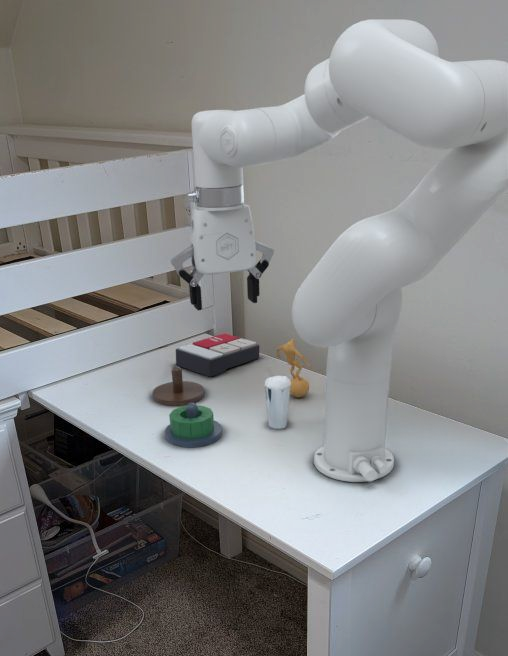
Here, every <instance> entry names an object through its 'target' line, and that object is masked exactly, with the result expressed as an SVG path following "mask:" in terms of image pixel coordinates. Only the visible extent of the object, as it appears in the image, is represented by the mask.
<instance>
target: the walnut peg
mask: <svg viewBox="0 0 508 656" xmlns="http://www.w3.org/2000/svg"><path fill="white" fill-rule="evenodd" d="M204 396H205V388H204V386H203V385H202V384H200V383H197V382H193V381H186V380H184V379H183V370H182V367H180V366H177V365H176V366H174V367H172V368H171V381H170V382H166V383H161V384H160V385H158V386H156V387H155V388H153V390H152V399H153V401H155V402H156V403H157V404H160V405H163V406H168V407H169V406H171V407H182V406H187V405H188V404H189V403H195V404H196V403H197V402H200V401H201V400H202V399H203V398H204Z"/></svg>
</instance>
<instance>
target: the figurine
mask: <svg viewBox="0 0 508 656" xmlns="http://www.w3.org/2000/svg"><path fill="white" fill-rule="evenodd" d="M295 346H296V340H295V338H291V339H290V340H289V341H287V342H286V343H285V344H282V345H281V346H278V347H277V348H276V357H277V358H278V359H281V358H282V355H281V352H280V351H281V350H282V353H283V354H284V356H285V361H286V362H287V364H288V365H290V366H291V367H290V368H289V371H290V372H289V373H290V375H291V377H292V378H291V379H290V381H291V387H290V395H291V396H293V397H295V398H303V397H305V396H306V395H307V394H308V393H309V391H310V383H309V381H308V379H306V378H305V377H304V376H300V375H299V374H300V373H301V371H302V369H303V364H302V363H301V362H300V361H299V359H297V358H296V356H297V357H299V358H300V359H301V360H302V361H303V362H304V363H305V364H306V365H307V366H308V367H309V369H312V367H311V364H310V363H309V361H307V359H306V358H305V357H304V356H303V355H302V354H301V353H300V352H299V351H298V350H297V348H296V347H295ZM295 367H296V368H298V369H297V370H296V372H295V374H294V371H295Z"/></svg>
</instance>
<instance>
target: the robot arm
mask: <svg viewBox="0 0 508 656" xmlns="http://www.w3.org/2000/svg"><path fill="white" fill-rule="evenodd" d="M439 54H440V51H439V46H438V42H437V40H436V39H435V36H434V34H433V33H432V32H431V31H430V30H429V28H427V27H426V26H425V25H424V24H421V23H420V22H418V21H415V20H410V19H401V18H399V19H396V18H395V19H385V18H384V19H380V18H379V19H378V18H377V19H366V20H361V21H358V22H357V23H354V24H352V25H350V26H349V27H348V28H346V29H345V30H344V31H343V32H342V33H341V34H340V35H339V37H338V38H337V39H336V41H335V43H334V45H333V47H332V49H331V53H330V56H329V58H327V59H325V60H323V61H321V62H319V63H318V64H316V65H314V66H313V67H312V68H311V69H310V71H309V72H308V74H307V75H306V78H305V82H304V89H303V90H304V93H303V94H302V95H300V96H298V97H296V98H294V99H291V100H290V101H288V102H286V103H283V104H280V105H277V106H265V107H255V108H250V109H249V108H248V109H241V110H232V109H214V110H213V109H211V110H210V109H209V110H202V111H201V110H200V111H198V112H196V113H194V115H193V116H192V119H191V126H190V127H191V140H192V155H193V170H194V171H193V172H194V185H195V186H194V187H193V188H194V189H193V191H191V192H186V199H187V202H189V203H190V202H192V203H194V204H195V205H196V206H195V207H193V208H192V214H191V223H190V224H191V226H190V246H188V247H187V248H184V250H181V252H180V253H178V254H176V255H175V256H174V257H172V258H171V259H170V263H171V266H172V267H173V269H174V270H175V271H176V273H177V275H178V276H179V277H180V278H181V279H182V280H184V281H185V282H186V283H187V284H188V287H189V288H188V289H189V290H188V291H189V300H190V305H191V306H193V307H194V308H195V310H197V311H202V310H203V300H202V287H201V286H200V285H199V283H200V281H201V280H202V278H203V277H204V275H205V276H209V275H210V276H211V275H219V274H221V275H222V274H228V273H237V272H244V271H247V272H248V275H247V277H246V291H247V299H248V301H250V302H251V303H253V304H257V303H258V297H259V296H260V279H261V278H262V276H263V274H264V273H265V271H266V270H267V269H268V267H269V266H270V262H271V260H272V258H273V255H274V253H275V250H274V249H273V248H272V247H269V246H268V245H265V244H263V243H261V242H259V241H256V238H255V237H256V236H255V228H254V222H253V217H252V210H251V208H250V205H249V204H247V203H245V192H244V169H243V168H249V167H256V166H260V165H265V164H272V163H277V162H283V161H287V160H291V159H293V158H295V157H298V156H301V155H303V154H305V153H308V152H309V151H311V150H314V149H317V148H319V147H320V146H322V145H324V144H326V143H328V142H330V141H331V140H333V139H334V138H335V137H337V136H338V135H339V134H341V132H342V131H344V130H346V129H348V128H351V127H352V126H356V125H357V124H359V123H361V122H363V121H365V120H367V119H372V120H373V121H375V122H377V123H379V124H380V125H382V126H383V127H386V128H387V129H388V130H391V131H392V132H394V133H396V134H398V135H399V136H401V137H403V138H405V139H406V140H408V141H410V142H412V143H414V144H416V145H418V146H421V147H423V148H426V149H430V150H431V149H432V150H450V151H449V152H448V153H447V154H446V155H445V156H443V157H442V159H440V160H439V161H438V162H437V163H436V164H434V165H433V167H432V168H430V169H429V171H428V172H427V173H426V174H425V175H424V177H423V178H422V179H421V181H419V183H418V185H416V187H415V188H414V189H413V190H412V191H411V192H410V194H408V196H407V197H406V198H405V199H404V200H403V201H402V202H401V203H399V204H398V206H396V207H395V208H393V209H391V210H388V211H386V212H382V213H380V214H376V215H372V216H369V217H365V218H364V219H361V220H358V221H357V222H355V223H353V224H352V225H351V226H349V227H348V228H347V229H346V230H344V231H343V232H342V233H341V234H340V235H339V236H338V237H337V238H336V240H335V241H334V242H332V244H331V246H330V247H329V248H328V250H327V251H326V252H325V253H324V254H323V256H322V257H321V259H320V260H318V262H317V263H316V265H315V266H314V267H313V269H312V270H311V271H310V272H309V274H308V275H307V276H306V277H305V279H304V280H303V281H302V283H301V284H300V286H299V287H298V289H297V290H296V293H295V295H294V298H293V301H292V304H291V306H292V307H291V320H292V324H293V327H294V330H295V331H296V334H297V335H298V336H299V337H300V339H302V340H303V341H304V342H305V343H307V344H309V345H310V346H312V347H317V348H328V350H327V355H326V370H325V399H324V400H325V401H324V402H325V405H324V406H325V407H324V441H323V445H322V446H321V447H319V448H318V449H316V451H315V453H314V455H313V456H314V457H313V458H314V459H313V464H314V466H315V469H317V471H319V472H320V473H321V474H323V475H324V476H327V477H329V478H331V479H334V480H337V481H342V482H350V483H362V482H368V483H369V482H370V483H371V482H373V481H374V482H375V480H378V479H382V478H383V477H385V476H387V475H388V474H389V473H391V471H392V470H394V469H393V468H394V465H395V458H394V455H393V454H392V452H391V451H390V450H389V449H387V448H386V439H387V424H388V411H389V398H390V385H391V373H392V361H393V359H392V358H393V349H394V343H395V337H396V331H397V328H398V324H399V320H400V317H401V311H402V305H403V288H404V287H407V286H410V285H412V284H414V283H417V282H418V281H420V280H422V279H423V278H425V277H427V275H429V274H430V272H432V271H433V270H434V269H435V268H436V266H437V265H439V263H440V262H441V261H442V260H443V259H444V258H445V256H446V255H447V254H448V253H449V252H450V251H452V249H453V248H454V247H455V246H456V245H457V244H458V243H459V242H460V240H461V239H462V238H463V237H464V236H465V235H466V234H467V233H468V232H469V231H470V230H471V228H472V227H473V226H475V224H476V223H477V222H478V221H479V220H480V219H481V218H482V217H483V215H485V213H486V212H487V211H488V210H489V209H490V208H491V207H492V206H493V205H494V204H495V203H496V202H497V201H498V200H499V198H501V197H502V196H503V195H504V193H505V192H506V191H507V190H508V62H507V61H503V60H498V59H497V60H496V59H477V60H463V61H460V60H459V61H448V60H446V59H443V58H441V57H440V55H439ZM257 251H258V252H259V253H261V258H260V259H259V261H258V262H257ZM188 260H191V266H192V269H191V271H190V272H187V271H186V269H185V268H184V266H183V264H184V263H185V262H186V261H188Z"/></svg>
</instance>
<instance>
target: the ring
mask: <svg viewBox="0 0 508 656" xmlns="http://www.w3.org/2000/svg"><path fill="white" fill-rule="evenodd" d="M196 405H197V407H198V417H197V418H192V419H189V418H187V413H186V407H187V405H181V406H178V407H177V408H174V409H172V410H171V412H170V413H169V415H168V416H169V425H170V429H171V432H172V434H173V435H175V436H177V437H179V438H185V439H195V438H201V437H204V436H206V435H209V434H211V433H212V431H213V429H214V421H215V420H214V419H215V418H214V412H213V410H212V408H211V407H210V408H209V407H207V406H205V405H199V404H196Z"/></svg>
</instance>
